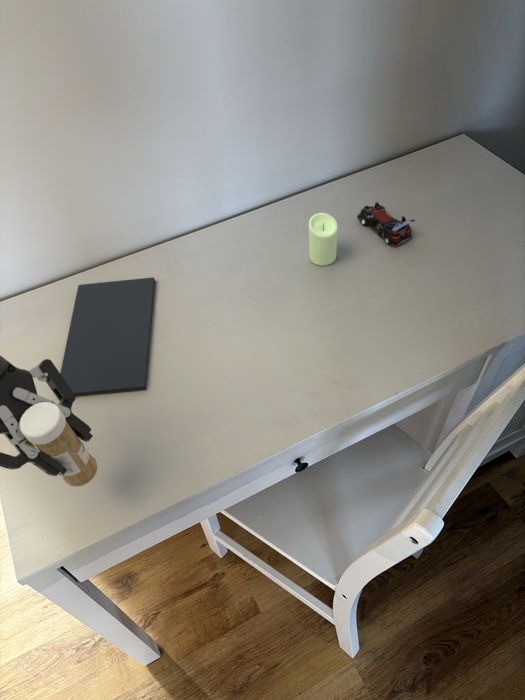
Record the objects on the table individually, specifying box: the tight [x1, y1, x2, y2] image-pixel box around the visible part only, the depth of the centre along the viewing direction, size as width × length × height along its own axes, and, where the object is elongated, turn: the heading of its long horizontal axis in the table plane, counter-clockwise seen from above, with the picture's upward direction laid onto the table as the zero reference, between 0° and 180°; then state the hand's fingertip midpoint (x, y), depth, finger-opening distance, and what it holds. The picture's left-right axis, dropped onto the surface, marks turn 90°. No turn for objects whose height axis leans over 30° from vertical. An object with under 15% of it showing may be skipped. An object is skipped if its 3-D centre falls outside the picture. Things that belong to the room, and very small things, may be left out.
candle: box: [308, 212, 339, 267], centre depth 96 cm, size 5×5×8 cm
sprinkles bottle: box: [19, 402, 98, 488], centre depth 64 cm, size 5×5×13 cm
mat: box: [59, 276, 156, 397], centre depth 91 cm, size 24×14×1 cm, turn 4°
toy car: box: [356, 201, 416, 248], centre depth 101 cm, size 6×12×4 cm, turn 33°
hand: (76, 454), depth 64 cm, fingers closed on sprinkles bottle, 4 cm apart
